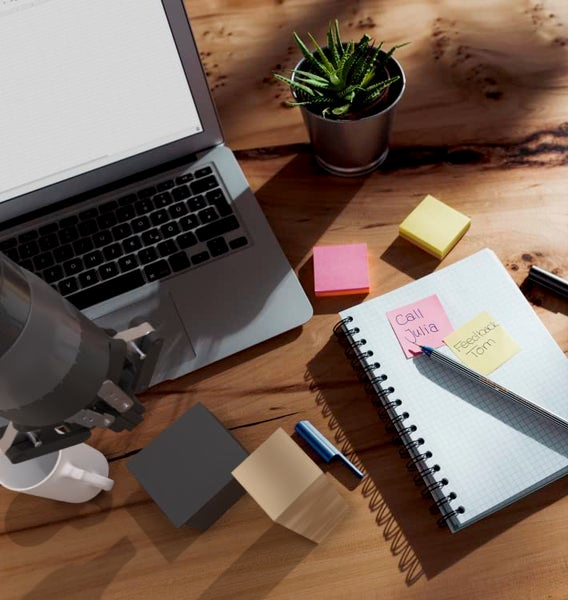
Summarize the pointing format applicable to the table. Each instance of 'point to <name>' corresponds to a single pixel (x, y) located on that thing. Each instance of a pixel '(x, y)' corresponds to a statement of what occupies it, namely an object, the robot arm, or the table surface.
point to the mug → (59, 474)
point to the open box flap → (187, 464)
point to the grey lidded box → (219, 498)
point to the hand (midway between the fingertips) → (130, 417)
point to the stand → (291, 488)
